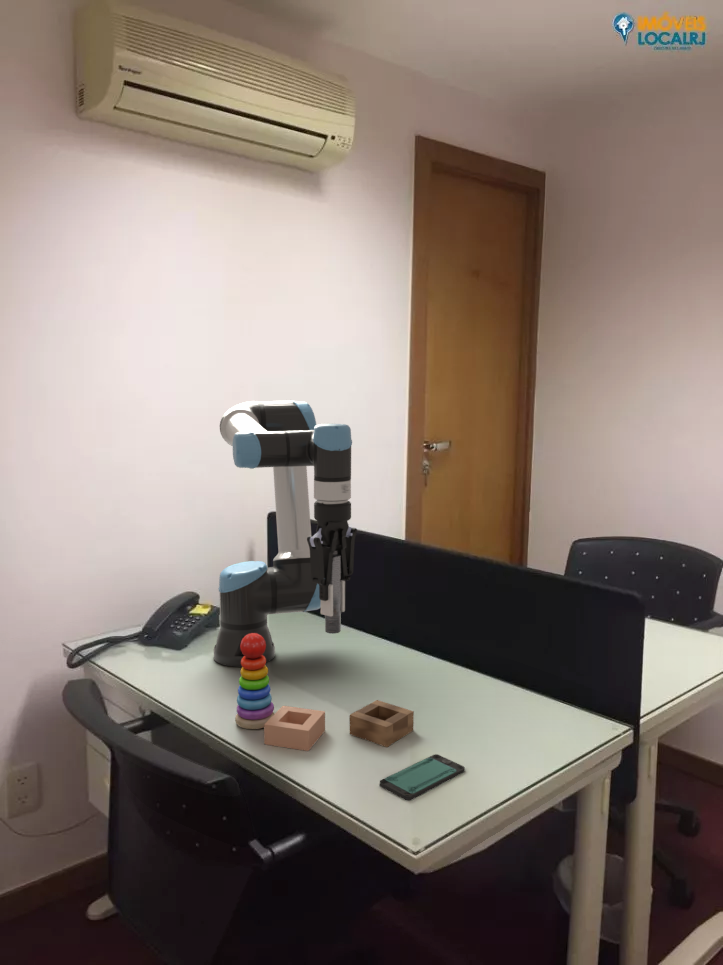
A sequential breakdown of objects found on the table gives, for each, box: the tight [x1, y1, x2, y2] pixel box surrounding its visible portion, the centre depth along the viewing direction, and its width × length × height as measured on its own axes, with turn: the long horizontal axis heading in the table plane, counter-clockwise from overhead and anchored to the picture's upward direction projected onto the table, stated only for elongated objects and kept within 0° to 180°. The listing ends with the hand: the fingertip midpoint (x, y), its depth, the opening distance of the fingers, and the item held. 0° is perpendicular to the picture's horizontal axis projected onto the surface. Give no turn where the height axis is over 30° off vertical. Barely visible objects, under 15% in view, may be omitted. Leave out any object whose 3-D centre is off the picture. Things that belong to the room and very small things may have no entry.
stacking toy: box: [234, 633, 275, 730], centre depth 159 cm, size 8×8×19 cm
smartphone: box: [379, 753, 466, 802], centre depth 138 cm, size 7×1×15 cm
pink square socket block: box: [263, 705, 326, 752], centre depth 153 cm, size 9×9×4 cm
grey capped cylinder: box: [324, 549, 342, 635], centre depth 162 cm, size 3×3×17 cm
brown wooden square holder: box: [349, 699, 415, 748], centre depth 155 cm, size 9×9×4 cm
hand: (332, 612), depth 163 cm, fingers closed on grey capped cylinder, 3 cm apart
